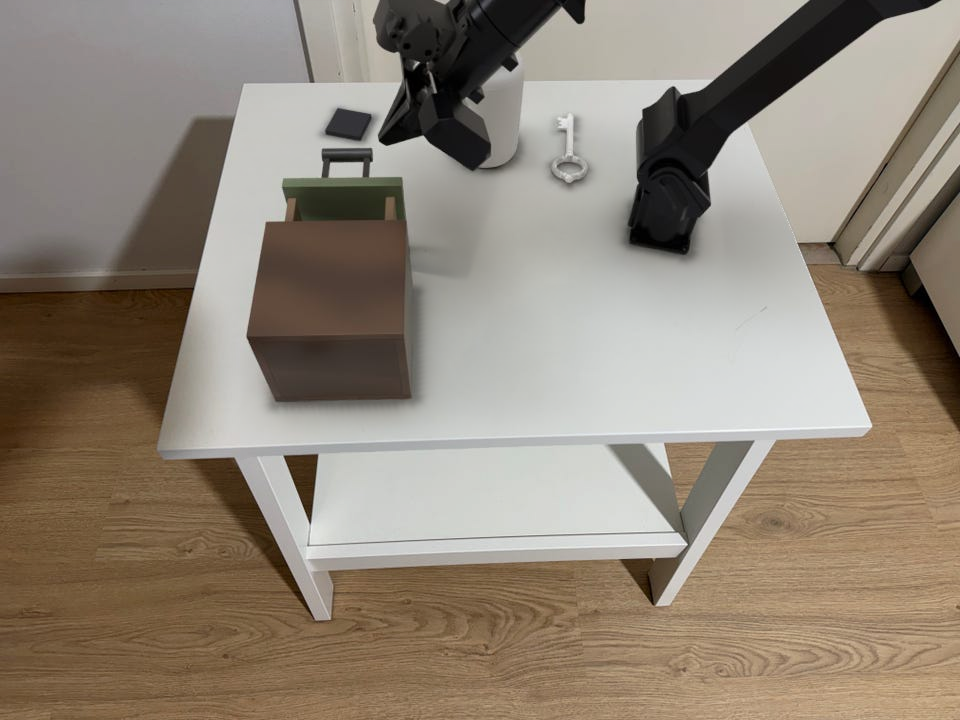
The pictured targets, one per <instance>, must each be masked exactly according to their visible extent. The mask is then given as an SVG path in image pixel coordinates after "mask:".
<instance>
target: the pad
mask: <svg viewBox="0 0 960 720" xmlns="http://www.w3.org/2000/svg"><path fill="white" fill-rule="evenodd" d="M371 120H372V114H371V113H368V112H363V111H357V110H352V109H345V108H340V107H337V108H336V110H335V112H334V114H333V116H332V117H331V119H330V120H329V123H328V125H327V126H326V128H325V131H324V132H325V133H324V134H325V135H328V136H333V137H339V138H344V139H350V140H354V141H361V139H362V138H363V136H364V134H365V131H366V130H367V127H368V126H369V124H370V122H371Z"/></svg>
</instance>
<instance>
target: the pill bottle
mask: <svg viewBox="0 0 960 720" xmlns="http://www.w3.org/2000/svg"><path fill="white" fill-rule="evenodd" d="M515 55H516V58H517V60H518V63H519V65H518V66H517V67H516V68H515V69H514V70H513V71H511V72H509V71H508V70H507V69H506V68H504V67H503V66H502V67H501V68H500V69H499V70H498V71H497V72H496V73H495V74H494V75H493V76H492V77H491V78H490V79H489V80H488V81H487V82H486V83H485V84H484V85H483V86H482V89H483V92H484V95H485V98H484V99H483V100H482V101H481V102H480V103H479V104H478V105H477V104H475V103H474V102H473V101H471V100H470V99H469V98H467V97H466V98H465V100H466V102H467V105H468V108H470V109H471V110H472V111H474V112H475V113H476V114H478V115H479V116H480V117H482V118H483V119H484V122H485V126H486V129H487V132H488V135H489V139H490V142H491V157H490V158H489V159H487V160H486V161H485V162H484V163H483V164H482V165H481V166H480V167H479V168H482V169H487V168H496V167H499V166H502V165H504V164H507V163H508V162H509V161H511V159H512V158H513V157H514V155H515V154H516V151H517V148H518V144H519V134H520V125H521V114H522V104H523V103H522V102H523V96H524V95H523V94H524V84H525V73H526V66H525V62H524V58H523V56H522V54H521V52H519V50H518V51H517V52H516V53H515Z"/></svg>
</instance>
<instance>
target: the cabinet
mask: <svg viewBox="0 0 960 720" xmlns="http://www.w3.org/2000/svg"><path fill="white" fill-rule="evenodd" d="M409 241H410V240H409V229H408V221H407V219H406V220H348V221H285V220H281V221H279V220H277V221H276V220H275V221H273V220H271V221H265V224H264V232H263V237H262V242H261V247H260V248H261V249H260V253H259V260H258V265H257V271H256V275H255V276H256V277H255V283H254V288H253V295H252V298H251V299H252V300H251V305H250V312H249V317H248V323H247V329H246V334H245V337H246V340H247V342H248V345H249V347H250V349H251V351H252V354H253V355H254V357H255V360H256V362H257V364H258V366H259V369H260V370H261V371H260V372H261V373H262V375H263V377H264V379H265V381H266V384H267V386H268V388H269V391H270V393H271V395H272V397H273V399H274V402H277V403H278V402H314V401H315V402H317V401H356V400H358V401H359V400H361V401H363V400H407V399H408V400H409V399H412V398H413V394H412V393H413V351H414V350H413V349H414V348H413V345H414V341H413V340H414V283H413V272H412V263H411V261H412V260H411V252H410V250H411V249H410V243H409Z"/></svg>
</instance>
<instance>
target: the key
mask: <svg viewBox="0 0 960 720" xmlns="http://www.w3.org/2000/svg"><path fill="white" fill-rule="evenodd" d="M574 118H575V116H574V114H573V113H572V112H570V113H568V114H567V115H566V117H565V118H563V117H562V116H557V122H558V125H557V130H563V131H566V141H565V143H566V144H565V154H564V155H560V156H558V157H556V158H555V159H554V160H553V162H552V163H551V171H552V173H553V174H554V175H555V176H556V177H557V178H559V179H563V180H564V181H565V182H566V183H568V184H570V183H573V181H575V180H580V179H582V178H584V177H585V176H586V174H587V173H588V169H589V166H588V164H587V162H586V161H585V159H583V158H582V157H580V156H576V155H574ZM562 163H573V164H574V163H575V164H577V165H579V166H580V167H581V170H580V171H579V172H576V173H575V172H573V173H568V172H563V171H561V170H560V168H558V165H560V164H562Z"/></svg>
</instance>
